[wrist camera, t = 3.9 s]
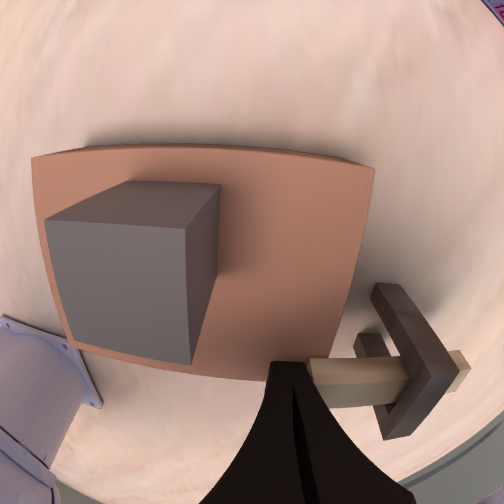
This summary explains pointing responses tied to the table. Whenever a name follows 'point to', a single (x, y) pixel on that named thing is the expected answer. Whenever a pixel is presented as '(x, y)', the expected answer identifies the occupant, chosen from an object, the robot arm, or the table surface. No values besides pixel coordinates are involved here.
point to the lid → (200, 254)
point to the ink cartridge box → (496, 8)
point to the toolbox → (372, 345)
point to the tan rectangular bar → (369, 379)
